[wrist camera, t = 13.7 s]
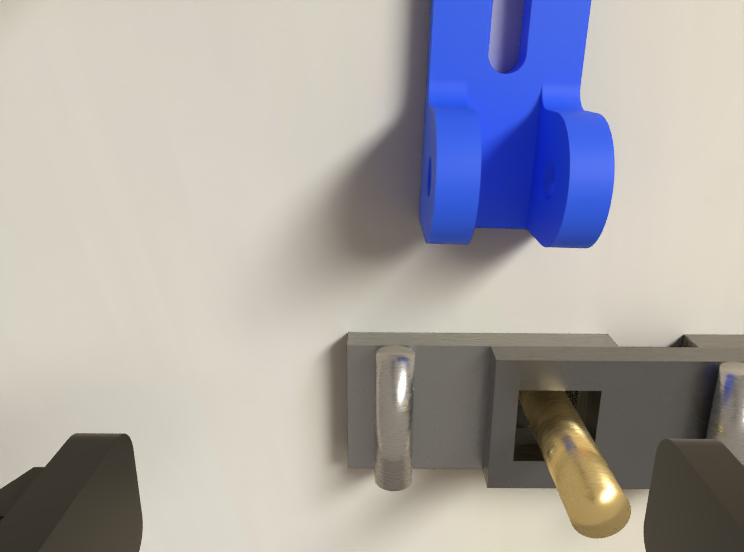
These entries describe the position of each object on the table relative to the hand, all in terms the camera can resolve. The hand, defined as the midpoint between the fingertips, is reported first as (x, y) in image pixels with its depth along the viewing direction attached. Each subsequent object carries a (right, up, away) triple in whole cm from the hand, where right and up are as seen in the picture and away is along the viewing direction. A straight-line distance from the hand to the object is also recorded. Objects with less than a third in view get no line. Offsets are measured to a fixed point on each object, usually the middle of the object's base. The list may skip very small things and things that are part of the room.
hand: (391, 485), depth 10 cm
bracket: (+7, +15, +27) cm, 32 cm away
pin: (+11, -5, +33) cm, 35 cm away
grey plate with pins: (+11, -5, +33) cm, 35 cm away
